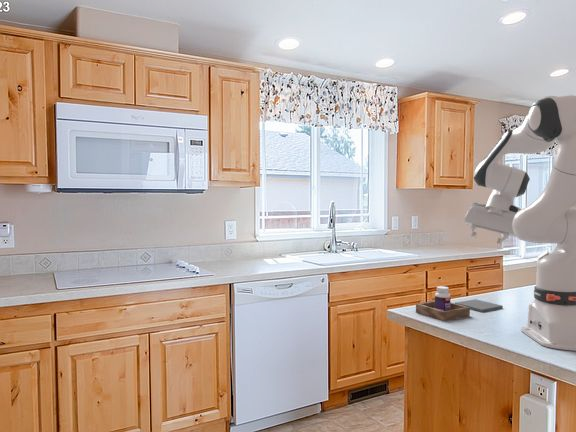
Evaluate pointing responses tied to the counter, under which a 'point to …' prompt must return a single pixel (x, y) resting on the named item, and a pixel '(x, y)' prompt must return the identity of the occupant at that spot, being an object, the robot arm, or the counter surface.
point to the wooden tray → (453, 313)
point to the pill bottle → (442, 298)
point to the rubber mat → (479, 305)
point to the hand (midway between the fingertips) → (485, 240)
